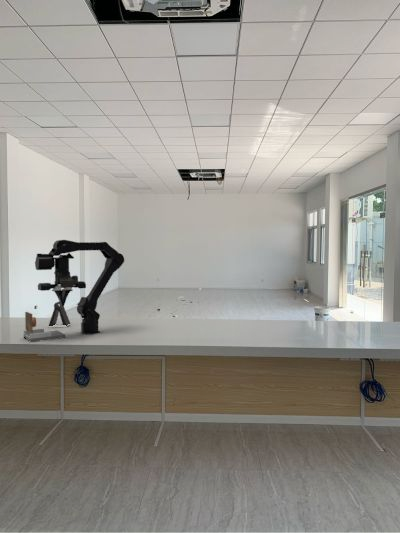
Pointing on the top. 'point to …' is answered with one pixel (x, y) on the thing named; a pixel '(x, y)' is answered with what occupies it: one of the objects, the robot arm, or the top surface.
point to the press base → (42, 335)
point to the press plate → (30, 322)
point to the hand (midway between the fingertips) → (62, 306)
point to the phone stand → (63, 315)
